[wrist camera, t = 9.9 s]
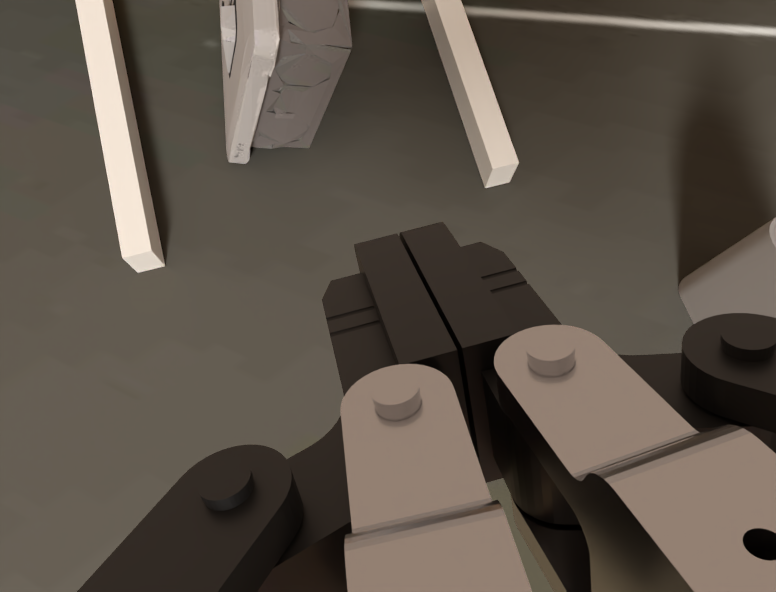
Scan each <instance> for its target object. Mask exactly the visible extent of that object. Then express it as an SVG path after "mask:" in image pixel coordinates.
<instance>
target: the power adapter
mask: <svg viewBox="0 0 776 592" xmlns="http://www.w3.org/2000/svg"><path fill="white" fill-rule="evenodd" d="M678 289H679V295H680V297H681V300H682V302H683V304H684V306H685V308H686V310H687V312H688V314H689V316H690V318H691V320H692V322H693V324H695V323H697V322H699V321H701V320H703V319H705V318H708V317H711V316H715V315H720V314H728V313H750V314H759V315H765V316H770V317H774V318H776V217H775V218H774V219H772V220H771V221H769V222H768V223H766V224H765V225H763V226H762V227H760V228H759V229H757V230H756V231H754V232H753V233H751V234H750V235H748V236H746V237H745V238H743V239H742V240H740V241H739V242H737V243H736V244H734V245H733V246H731V247H730V248H728V249H727V250H725V251H724V252H722V253H721V254H719V255H718V256H716V257H715V258H713V259H712V260H710V261H709V262H707V263H706V264H704V265H703V266H701V267H700V268H698V269H697V270H695V271H694V272H692V273H691V274H689V275H688V276H686V277H685V278H683V279H682V281H681V282H680V284H679V288H678Z"/></svg>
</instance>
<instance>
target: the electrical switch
mask: <svg viewBox="0 0 776 592" xmlns="http://www.w3.org/2000/svg"><path fill="white" fill-rule="evenodd" d="M338 9H339V12H338ZM337 12H338V15H337ZM220 23H221V45H222V66H223V88H224V110H225V132H226V150H227V158H228V161H229V162H233V163H241V164H246V163H247V162H248V161H249V158H250V147H257V148H270V149H273V148H279V147H295V148H310V145H311V143H312V141H313V138H314V136H315V134H316V131H317V129H318V127H319V124H320V122H321V120H322V117H323V115H324V113H325V110H326V108H327V106H328V103H329V101H330V99H331V96H332V94H333V92H334V89H335V87H336V85H337V82H338V80H339V78H340V75H341V73H342V71H343V68H344V66H345V64H346V61H347V59H348V57H349V54H350V52H351V50H350V49H344V48H338V47H345V48H352V38H351V29H350V19H349V9H348V0H220ZM325 45H328V46H325ZM332 46H336V47H332ZM326 78H327V79H326Z"/></svg>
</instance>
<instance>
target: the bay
mask: <svg viewBox="0 0 776 592" xmlns="http://www.w3.org/2000/svg"><path fill="white" fill-rule="evenodd" d="M421 1H422V4H423V7H424V10H425V13H426V16H427V18H428V21H429V24H430V27H431V30H432V33H433V36H434V39H435V42H436V45H437V48H438V51H439V54H440V57H441V60H442V63H443V66H444V69H445V72H446V75H447V78H448V81H449V84H450V86H451V89H452V92H453V95H454V98H455V101H456V104H457V107H458V110H459V113H460V116H461V119H462V122H463V125H464V128H465V131H466V134H467V137H468V140H469V143H470V146H471V149H472V152H473V154H474V157H475V160H476V163H477V166H478V169H479V172H480V175H481V178H482V181H483V184H484V187H485V188H489V187H493V186H497V185H501V184H505V183H509V182H510V180H511V178H512V176H513V174H514V172H515V170H516V168H517V166H518V163H519V161H518V159H517V156H516V153H515V150H514V147H513V145H512V142H511V139H510V136H509V133H508V131H507V128H506V125H505V122H504V119H503V117H502V114H501V111H500V108H499V105H498V103H497V100H496V97H495V94H494V91H493V88H492V86H491V83H490V80H489V77H488V74H487V72H486V69H485V66H484V63H483V60H482V58H481V55H480V52H479V49H478V46H477V44H476V41H475V38H474V35H473V32H472V30H471V27H470V24H469V21H468V18H467V15H466V13H465V10H464V7H463V4H462V1H461V0H421ZM76 6H77V11H78V17H79V22H80V28H81V33H82V39H83V44H84V50H85V55H86V61H87V66H88V72H89V77H90V83H91V88H92V94H93V99H94V105H95V110H96V116H97V121H98V127H99V132H100V138H101V143H102V149H103V154H104V160H105V165H106V171H107V176H108V182H109V187H110V193H111V198H112V204H113V209H114V215H115V220H116V226H117V231H118V237H119V242H120V248H121V253H122V258H123V259H124V260H125V261H126V262H127V263H128V264H129V265H130V266H131V267H132V268H133V269H135V270H136V271H137V272H138V273H139V272H143V271H147V270H151V269H155V268H159V267H164V266H165V262H164V257H163V252H162V247H161V242H160V237H159V232H158V227H157V222H156V217H155V212H154V207H153V202H152V197H151V192H150V187H149V182H148V177H147V172H146V167H145V162H144V157H143V152H142V147H141V142H140V137H139V132H138V126H137V121H136V116H135V111H134V106H133V101H132V96H131V91H130V86H129V81H128V76H127V71H126V66H125V61H124V56H123V51H122V46H121V41H120V36H119V31H118V26H117V21H116V16H115V11H114V6H113V1H112V0H76Z"/></svg>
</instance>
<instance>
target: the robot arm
mask: <svg viewBox="0 0 776 592" xmlns="http://www.w3.org/2000/svg"><path fill="white" fill-rule="evenodd" d="M399 237H400V238H399ZM354 247H355V252H356V257H357V261H358V266H359V270H360V273H359V274H355V275H352V276H348V277H344V278H340V279H336V280H332V281H331V282H330V284H329V286H328V288H327V290H326V292H325V294H324V297H323V299H322V302H323V306H324V311H325V315H326V319H327V324H328V328H329V332H330V336H331V341H332V345H333V349H334V354H335V358H336V362H337V367H338V371H339V375H340V380H341V384H342V388H343V393H344V398H343V400H342V404H341V416H340V418H339V419H338V421H337V423H336V424H335V425H334V427H333V428H332V429H331V430H330V431H329V432H328V433H327V434H326V435H325V436H324V437H323V438H321V439H320V440H319V441H317V442H316V443H315V444H313V445H311V446H310V447H308V448H306V449H305V450H303V451H301V452H299V453H297V454H296V455H294V456H292V457H290V458H288V459H286V458H285V457H284V456H283V455H282V454H281V453H279V452H278V451H276V450H274V449H272V448H269V447H266V446H261V445H241V446H235V447H231V448H227V449H224V450H221V451H219V452H216V453H214V454H212V455H210V456H208V457H206V458H205V459H203V460H201V461H200V462H198V463H197V464H195V465H194V466H193V467H192V468H190V469H189V470H188V471H187V472H186V473H185V474H184V475H183V476H182V477H181V478H180V479H179V480H178V481H177V482H176V484H175V485H174V486H173V487H172V488H171V489H170V490H169V491H168V492H167V493H166V495H165V496H164V497H163V498H162V499H161V500H160V501H159V502H158V503H157V504H156V506H155V507H154V508H153V509H152V510H151V511H150V512H149V513H148V514H147V515H146V517H145V518H144V519H143V520H142V521H141V522H140V523H139V524H138V525H137V526H136V528H135V529H134V530H133V531H132V532H131V533H130V534H129V535H128V536H127V537H126V538H125V540H124V541H123V542H122V543H121V544H120V545H119V546H118V547H117V548H116V549H115V551H114V552H113V553H112V554H111V555H110V556H109V557H108V558H107V559H106V560H105V562H104V563H103V564H102V565H101V566H100V567H99V568H98V569H97V570H96V571H95V573H94V574H93V575H92V576H91V577H90V578H89V579H88V580H87V581H86V582H85V584H84V585H83V586H82V587H81V588H80V589H79V590H78V591H77V592H532V590H531V587H530V584H529V581H528V578H527V576H526V573H525V570H524V567H523V564H522V561H521V558H520V555H519V553H518V550H517V547H516V544H515V541H514V538H513V535H512V533H511V530H510V527H509V524H508V521H507V518H506V516H505V513H504V511H503V508H502V506H501V504H500V503H499V501H498V500H496V501H492V499H491V497H490V494H489V491H488V488H487V485H486V483H487V482H490V481H494V480H497V479H501V478H504V480H505V482H506V485H507V487H508V489H509V491H510V493H511V500H512V508H513V516H514V520H515V523H516V526H517V528H518V530H519V532H520V533H521V535H522V537H523V539H524V540H525V542H526V544H527V546H528V547H529V549H530V551H531V553H532V554H533V556H534V558H535V560H536V561H537V563H538V565H539V567H540V568H541V570H542V572H543V574H544V575H545V577H546V579H547V580H548V582H549V584H550V586H551V587H552V589H553V591H554V592H776V318H774V317H770V316H765V315H759V314H750V313H728V314H720V315H715V316H711V317H708V318H705V319H703V320H701V321H699V322H697V323H695V324H694V325H692V326H691V327H690V328H689V329H688V330H687V331H686V333H685V335H684V336H683V341H682V353H675V354H656V355H617V354H616V353H615V352H614V351H613V350H612V349H611V348H610V347H609V346H608V345H607V344H606V343H605V342H604V341H603V340H601V339H600V338H599V337H598V336H596V335H594V334H593V333H591V332H589V331H586V330H584V329H581V328H577V327H573V326H566V325H562V324H561V323H560V322H559V321H558V319H557V318H556V317H555V316H554V314H553V313H552V312H551V311H550V310H549V308H548V307H547V306H546V305H545V303H544V302H543V301H542V300H541V298H540V297H539V296H538V295H537V293H536V292H535V291H534V290H533V288H532V287H531V286H530V285H529V284H527V281H526V280H525V278H524V277H523V276H522V275H521V273H520V272H519V271H517V270H516V267H515V266H514V265H513V263H512V262H511V261H510V260H509V258H508V257H507V256H506V255H505V253H504V252H502V251H500V250H498V249H495V248H493V247H491V246H489V245H487V244H484V243H482V242H478V243H474V244H470V245H466V246H463V247H460V246H459V244H458V243H457V241H456V240H455V238H454V237H453V235H452V234H451V233H450V231H449V230H448V228H447V227H446V225H445V224H444V223H443V222H440V223H436V224H432V225H428V226H424V227H420V228H416V229H412V230H408V231H404V232H401V233H400V235H399V236H398V234H393V235H389V236H385V237H382V238H378V239H374V240H370V241H366V242H362V243H358V244H354Z"/></svg>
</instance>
